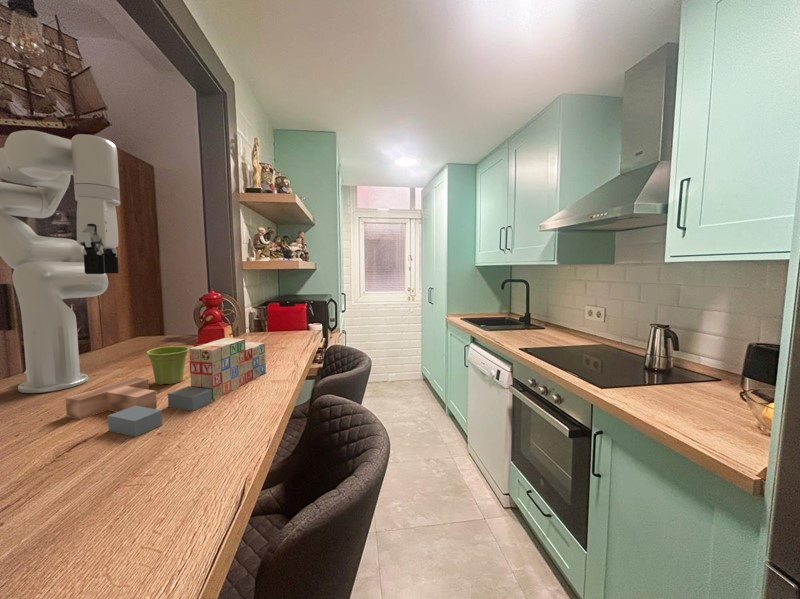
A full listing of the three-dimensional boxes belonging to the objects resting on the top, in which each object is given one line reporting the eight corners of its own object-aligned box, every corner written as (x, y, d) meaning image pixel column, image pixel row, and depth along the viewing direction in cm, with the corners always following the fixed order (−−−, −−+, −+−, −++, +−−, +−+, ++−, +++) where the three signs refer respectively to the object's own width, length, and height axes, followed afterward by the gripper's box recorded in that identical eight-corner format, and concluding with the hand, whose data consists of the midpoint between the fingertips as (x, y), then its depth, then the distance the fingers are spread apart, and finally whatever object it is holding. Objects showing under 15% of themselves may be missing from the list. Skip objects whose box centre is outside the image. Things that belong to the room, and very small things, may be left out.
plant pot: (177, 374, 98) (176, 344, 97) (197, 379, 94) (196, 348, 93) (140, 383, 90) (139, 351, 89) (160, 389, 86) (158, 356, 85)
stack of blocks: (247, 371, 102) (246, 331, 101) (266, 373, 101) (265, 332, 100) (190, 398, 81) (188, 347, 80) (213, 400, 80) (211, 349, 79)
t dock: (108, 430, 64) (107, 415, 64) (188, 398, 80) (187, 386, 80) (135, 436, 62) (134, 421, 62) (211, 402, 78) (211, 389, 78)
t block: (66, 416, 70) (65, 397, 69) (136, 393, 83) (136, 377, 83) (111, 426, 66) (110, 406, 66) (177, 400, 79) (176, 383, 79)
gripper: (90, 201, 81) (95, 273, 83) (57, 185, 66) (63, 274, 67) (129, 204, 84) (133, 273, 86) (106, 190, 69) (111, 274, 70)
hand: (103, 273), depth 77 cm, fingers open, 9 cm apart
